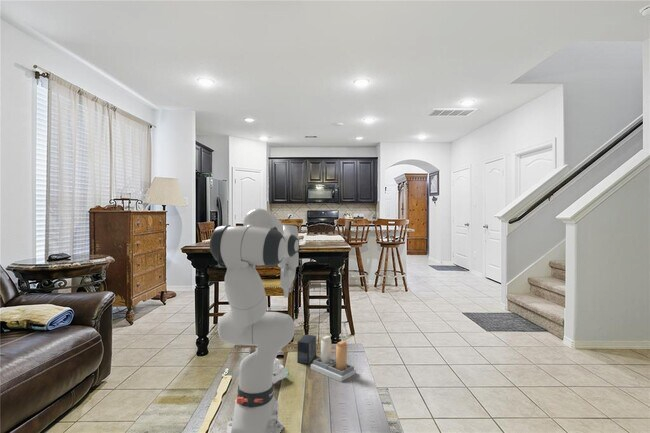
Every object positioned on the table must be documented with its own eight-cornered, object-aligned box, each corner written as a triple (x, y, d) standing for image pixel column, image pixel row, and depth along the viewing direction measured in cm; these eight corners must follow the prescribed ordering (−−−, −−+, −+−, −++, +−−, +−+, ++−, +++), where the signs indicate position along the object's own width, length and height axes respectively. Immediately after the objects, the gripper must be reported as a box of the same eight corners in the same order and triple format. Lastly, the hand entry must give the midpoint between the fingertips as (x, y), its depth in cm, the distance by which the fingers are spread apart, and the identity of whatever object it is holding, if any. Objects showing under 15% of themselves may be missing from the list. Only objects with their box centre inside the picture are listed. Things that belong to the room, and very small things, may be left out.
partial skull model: (284, 380, 145) (268, 362, 147) (270, 394, 147) (255, 376, 148) (294, 368, 157) (279, 352, 158) (281, 381, 158) (267, 364, 160)
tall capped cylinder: (348, 369, 159) (349, 342, 158) (341, 373, 155) (342, 345, 155) (340, 366, 162) (340, 339, 161) (333, 369, 158) (334, 342, 158)
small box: (304, 354, 180) (304, 333, 180) (316, 356, 178) (316, 335, 178) (296, 362, 170) (296, 341, 170) (309, 364, 168) (309, 342, 168)
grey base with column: (356, 373, 160) (356, 341, 159) (340, 381, 151) (341, 348, 151) (326, 361, 171) (326, 331, 171) (310, 368, 163) (311, 337, 163)
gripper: (292, 266, 141) (292, 300, 141) (298, 259, 161) (297, 289, 161) (276, 266, 141) (276, 300, 141) (284, 258, 161) (283, 289, 161)
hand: (287, 294), depth 151 cm, fingers open, 8 cm apart
